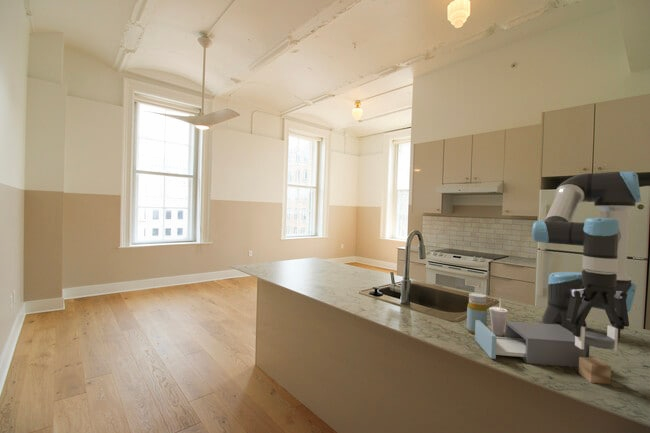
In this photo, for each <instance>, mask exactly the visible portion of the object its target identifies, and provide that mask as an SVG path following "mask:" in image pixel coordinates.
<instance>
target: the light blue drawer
mask: <svg viewBox="0 0 650 433" xmlns="http://www.w3.org/2000/svg"><path fill="white" fill-rule="evenodd" d="M474 341H475V342H476V343H477V344H478V345H479V347H481V349H482V350H483V351H484V352H485V354H487V356H488V357H489V358H490V359H493V360H496V359H497V356H506V357H507V356H508V357H519V358H521V357H525V355H526V340H525V339H521V338H506V337H505V336H504V337H503V336H498V335H495V334H494V333H492V330H490V329H489V328H488V327H486V326H485V325H484V324H483V323H482V322H481V321H480V320H475V334H474Z"/></svg>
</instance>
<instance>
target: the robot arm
mask: <svg viewBox="0 0 650 433" xmlns="http://www.w3.org/2000/svg"><path fill="white" fill-rule="evenodd" d="M553 193H554V194H553V197H554V200H553V202H552V204H551V205H550V209H549V210H548V212H547V214H546V216H545V218H544V220H536V221H534V222H533V224H532V232H531V235H532V240H533V241H534V242H536V243H545V244H554V245H555V244H556V245H567V246H569V245H571V246H577V247H578V246H579V247H580V246H581V247H583V249H582V250H583V251H582V264H581V265H582V266H581V267H582V269H583V270H582V271H581V272H577V271H557V272H556V271H555V272H551V273H550V274H549V276H548V282H547V285H548V286H547V306H546V308H545V310H544V312H543V314H542V316H541V323H542V324H558V325H560V326H562V327H564V328H566V329H567V330H569V331H571V332H572V333H573V335H575V345H576V346H577V347H579V348H580V349H584V340H585V331H588V325H587V322H586V319H587V318H588V315H589V314H590V311H591V309H592V308H594V309H598V310H604V311H605V313H606V315H607V318H608V321H609V323H610V325H607V329H606V331H607V332H606V336H608V337H610V338H612V339H614V341H615V347H614V348H613V349H610V350H612V351H613V352H618V340H620V339H621V330H624V329H625V327H626V328H627V327H630V321H629V313H630V312H631V310H632V307H633V303H634V299H635V295H636V291H637V284H635V283H633V282H632V277H630V276H629V275H628V274H627V264H628V246H629V244H628V243H629V226H630V225H629V222H630V211H632V210H633V209H634V208H636V203H640V202H641V201H642V197H641V190H640V184H639V175H638V174H637V172H635V171H609V172H608V171H607V172H591V173H588V172H587V173H580V174H577V175H574V176H572V177H569V178H568V179H566V180H564V181H562V182H561V183H560V185H558V186H557V187H556V189H555V191H554V192H553ZM585 202H587V203H594V208H595V209H597V210H598V217H587V218H586V219H584V222H578V221H576V222H574V221H573V220H574V217H575V214H576V211H577V209H578V206H579V204H581V203H585Z"/></svg>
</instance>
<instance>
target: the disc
mask: <svg viewBox="0 0 650 433" xmlns="http://www.w3.org/2000/svg"><path fill="white" fill-rule="evenodd" d="M584 343H585V344H587V345H590V347H594V348H598V349H605V350H611V349H613V348H614V347H615V341H614V339H612V338H610V337H608V336H607V334H606V335H605V334H602V333H598V332H594V331H588V330H587V331H585V340H584Z"/></svg>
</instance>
